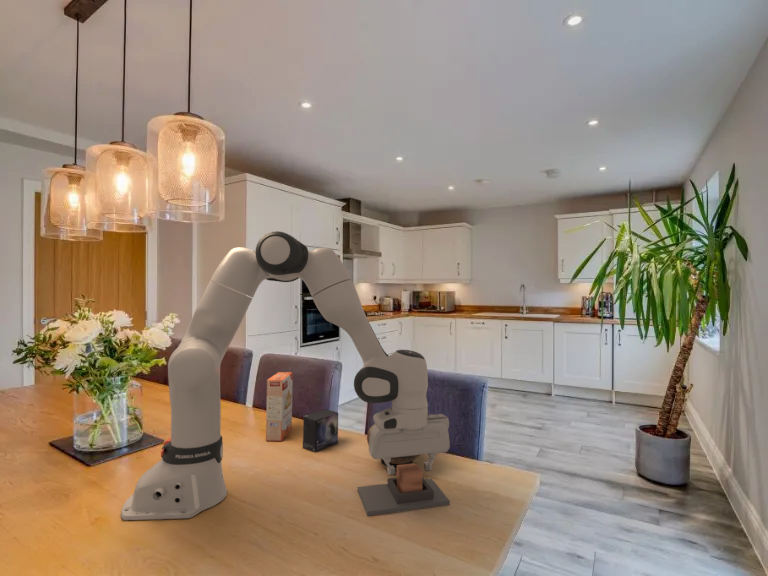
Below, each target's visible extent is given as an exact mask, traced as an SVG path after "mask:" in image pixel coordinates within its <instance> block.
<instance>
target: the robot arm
mask: <svg viewBox="0 0 768 576" xmlns="http://www.w3.org/2000/svg"><path fill="white" fill-rule="evenodd" d="M298 279H300V280H302V281H303V282H304V284H305V286H307V289H308V291H309V293H310V295H311V298H312V300H313V303H314V305H315V306H316V308H317V310H318V311H319V313H320V314H321V316H322V317H323V318H324V320H325V321H327V322H329V323H330V324H333V325H335V326H337V327H338V328H341V329H342V330H344V331H345V333H347V334H348V336H349V337H350V339H351V341H352V342H353V344H354V346H355V348H356V350H357V352H358V354H359V355H360V358H361V360H362V362H363V367H361V368H360V369H359V370H358V371H357V372H356V374H355V376H354V379H353V380H354V381H353V388H354V393H355V394H356V395H357V396H358V398H359V399H360V400H361V401H363V402H365V403H367V404H381V403H388V402H391V406H390V407H389V408H386V409H383V410H381V411H379V412H377V413H374V415H373V417H372V419H373V422H374V424H375V425H374V424H372V426H373V427H372V426H371V427H372V428H371V432H370V438H369V445H368V453H369V455H370V456H371V458H372V459H374V460H381V459H383V460H384V462H385V463H386V465H387V467H386V469H387V475H388V476H389V477H390V476H395V475H396V469H395V468H394V466H393V465H391V466H390V464H389V463H388V462H391V458H394V457H404V456H414V455H420V456H421V455H422V456H423V455H428V458H427V460H426V461H424V462H423V470H424V471H425V472H431V471H432V466H433V463H434V461H435V460H436V458H437V454H442V453H447V452H448V451H449V450H450V448H451V446H450V444H451V443H450V435H449V428H450V421H449V418H448V416H447V415H445V414H444V413H439V414H428V412H429V411H428V410H429V409H428V408H429V406H428V399H427V392H428V388H429V387H428V386H429V379H428V366H427V360H426V359H425V357H424V355H422V354H421V353H419V352H417V351H414V350H409V349H397V350H395V351H394V352H393V353H392V354H390V355H389V354H387V353H386V351H385V349H384V348H383V347H382V345H381V343H380V341H379V340H378V337H377V335H376V333H375V331H374V330H373V327H372V325H371V324H370V322H369V320H368V318H367V316H366V312H365V310H364V308H363V305H362V302H361V299H360V297H359V294H358V291H357V289H356V287H355V284H354V282H353V280H352V277H351V276H350V274H349V272H348V271H347V268H346V266H345V265H344V263H343V262H342V260H341V258H340V257H339V256H338V255H337V253H336V252H335V251H334V250H333V249H331V248H328V247H318V248H317V247H316V248H314V249H312V250H309V249H308V247H307V246H306V245H305V244H303V243H302V242H301V241H299V240H298V239H297V238H295V237H294V236H292V235H291V234H289V233H286V232H283V231H270V232H268V233H265V234H264V235H263V236H262V237H261V238H260V239H259V240H258V242H257V244H256V246H255V250H254V249H251V248H248V247H239V246H236V247H234V248H232V249H230V250H229V251H228V252H227V254H226V255H225V256H224V257H223V258H222V260H221V261H220V263H219V265H218V266H217V268H216V269H215V270H214V272H213V274H212V276H211V278H210V280H209V283H208V284H207V286H206V289H205V290H204V293H203V294H202V296H201V298H200V300H199V302H198V304H197V305H196V308H195V311H194V312H193V315H192V317H191V320H190V322H189V324H188V326H187V328H186V331H185V332H184V335H183V337H182V340H181V342H180V343H179V345H178V346H177V348H176V349H174V351H173V352H172V353H171V355H170V356H169V359H168V363H167V377H168V392H169V401H170V423H171V424H170V438H167V439H166V440H165V441H164V442H163V446H162V448H161V451H160V457H161V459H160V460H159V461H157V462H156V463H155V464H154V465H152V466H151V467H150V468H149V469H147V470H146V471H144V473H143V474H142V475H141V476H140V478H139V479H138V481H137V482H136V485H135V488H134V491H133V494H131V495H130V496H129V497H128V498H127V499H126V500H125V502H124V504H123V505H122V507H121V511H120V512H121V513H120V516H121V519H122V520H124V521H138V520H139V521H140V520H142V521H143V520H168V519H169V520H172V519H175V520H176V519H190V518H193V517H195V516H196V515H197V514H199V513H200V512H203V511H205V510H207V509H209V508H212V507H214V506H216V505H217V504H219V503H220V502H222V501H223V500H224V499H225V498H226V497H227V495H228V489H227V486H226V482H225V478H224V473H223V468H222V467H223V465H222V460H223V457H224V452H223V451H224V442H223V436H222V435H221V434H222V433H221V425H222V424H221V421H222V418H221V417H222V416H221V415H222V414H221V413H222V412H221V409H222V408H221V405H222V404H221V403H222V402H221V364H222V362H223V359H224V357H225V355H226V353H227V351H228V349H229V347H230V345H231V343H232V341H233V339H234V337H235V335H236V334H237V331H238V330H239V328H240V326H241V324H242V322H243V319H244V317H245V315H246V313H247V311H248V309H249V306H250V305H251V302H252V301H253V298H254V297H255V294H256V293H257V292H256V291H257V290H258V288H259V286H260V285H261V284H262V282H264V280H267V281H269V282H270V281H273V282H280V283H291V282H294V281H298Z"/></svg>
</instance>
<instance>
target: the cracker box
mask: <svg viewBox="0 0 768 576" xmlns="http://www.w3.org/2000/svg"><path fill="white" fill-rule="evenodd" d="M293 376H294V373H293V372H291V371H285V372H284V371H278V372H276V373H275V374H274V375H272V376H270V377H269V378H268V379H266V417H265V418H266V423H265V425H266V426H265V428H266V429H265V440H266V442H282V441H283V440H284V438H285V437H286V436H287V435H288V433H289V432H290V431H291V430H292V428H293V425H292V423H293V381H294V379H293V378H294V377H293Z"/></svg>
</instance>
